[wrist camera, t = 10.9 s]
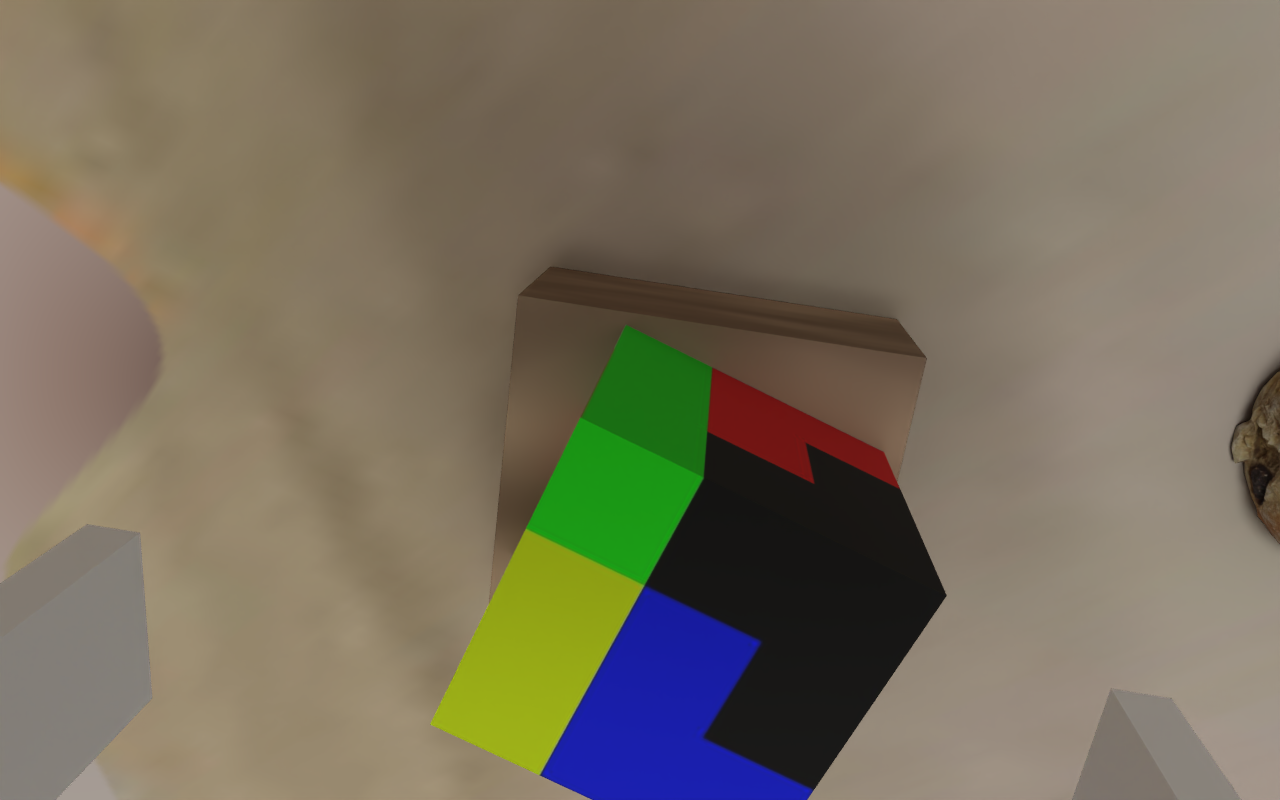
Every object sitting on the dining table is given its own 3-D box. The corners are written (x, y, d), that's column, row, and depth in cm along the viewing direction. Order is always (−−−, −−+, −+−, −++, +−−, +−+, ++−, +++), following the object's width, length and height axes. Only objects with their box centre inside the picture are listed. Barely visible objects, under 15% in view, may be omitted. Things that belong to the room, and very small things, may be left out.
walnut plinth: (550, 266, 38) (518, 295, 32) (896, 319, 37) (926, 358, 31) (518, 572, 42) (484, 645, 36) (827, 624, 41) (842, 707, 36)
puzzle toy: (749, 669, 35) (755, 875, 26) (512, 556, 35) (430, 724, 25) (883, 451, 32) (946, 595, 23) (625, 324, 32) (580, 417, 22)
